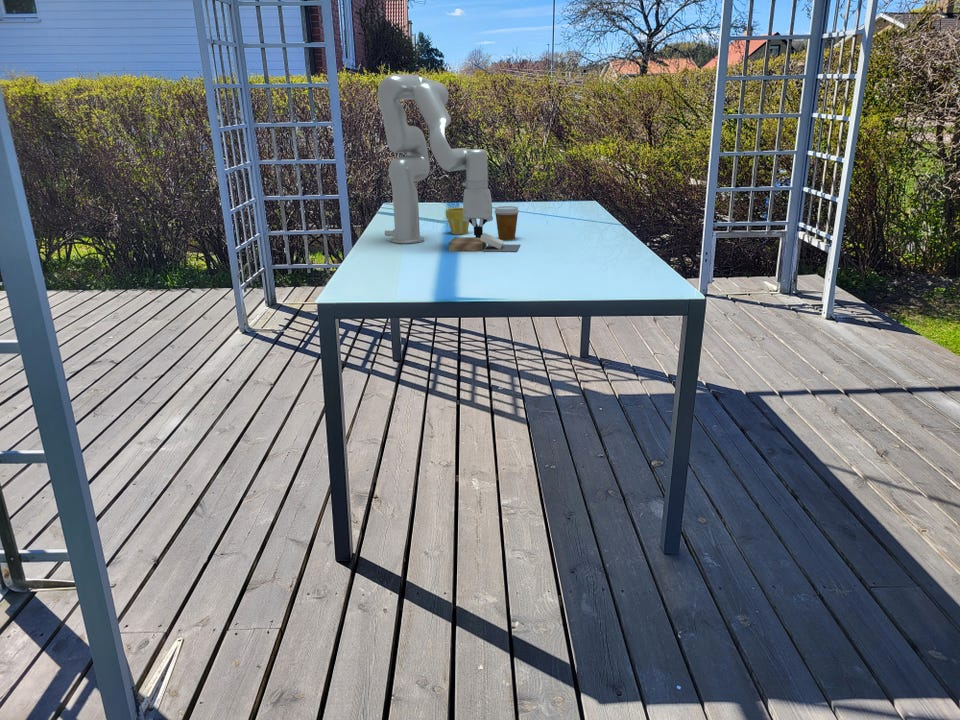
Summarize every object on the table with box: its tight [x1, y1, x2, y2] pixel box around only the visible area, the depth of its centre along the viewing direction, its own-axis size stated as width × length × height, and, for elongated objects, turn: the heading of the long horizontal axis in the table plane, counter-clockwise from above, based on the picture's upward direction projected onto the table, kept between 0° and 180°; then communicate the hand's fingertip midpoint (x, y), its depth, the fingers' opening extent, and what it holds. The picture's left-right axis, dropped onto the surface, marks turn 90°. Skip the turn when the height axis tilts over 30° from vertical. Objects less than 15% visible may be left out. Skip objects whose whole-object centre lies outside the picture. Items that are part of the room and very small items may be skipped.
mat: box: [482, 243, 521, 253], centre depth 257 cm, size 12×13×1 cm
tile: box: [480, 232, 505, 249], centre depth 256 cm, size 8×6×2 cm
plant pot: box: [445, 207, 470, 235], centre depth 289 cm, size 10×10×10 cm
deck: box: [448, 236, 488, 253], centre depth 258 cm, size 12×12×3 cm
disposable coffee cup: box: [493, 205, 520, 241], centre depth 273 cm, size 10×10×12 cm
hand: (478, 237), depth 256 cm, fingers closed
